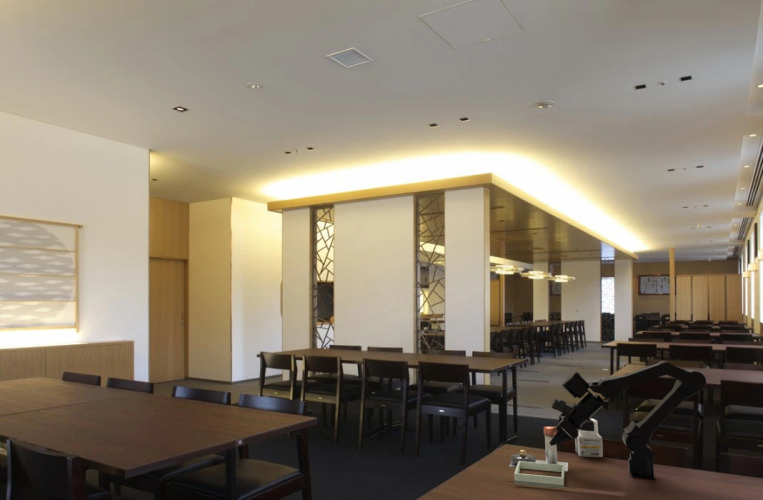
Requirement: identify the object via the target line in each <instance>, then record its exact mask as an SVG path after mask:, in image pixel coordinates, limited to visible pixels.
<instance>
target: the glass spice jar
mask: <svg viewBox="0 0 763 500" xmlns="http://www.w3.org/2000/svg"><path fill="white" fill-rule="evenodd" d="M556 427H557V426H549V425H548V426H543V435H544V446H545V447H544V448H545V461H546V463H548V464H557V462H558V446H557V445H558V444H556V445H553V446H551V445H550V444H549V442H550V441H551V440H552V438H553V437H554V435H555V434H556V433H557V428H556Z"/></svg>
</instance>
